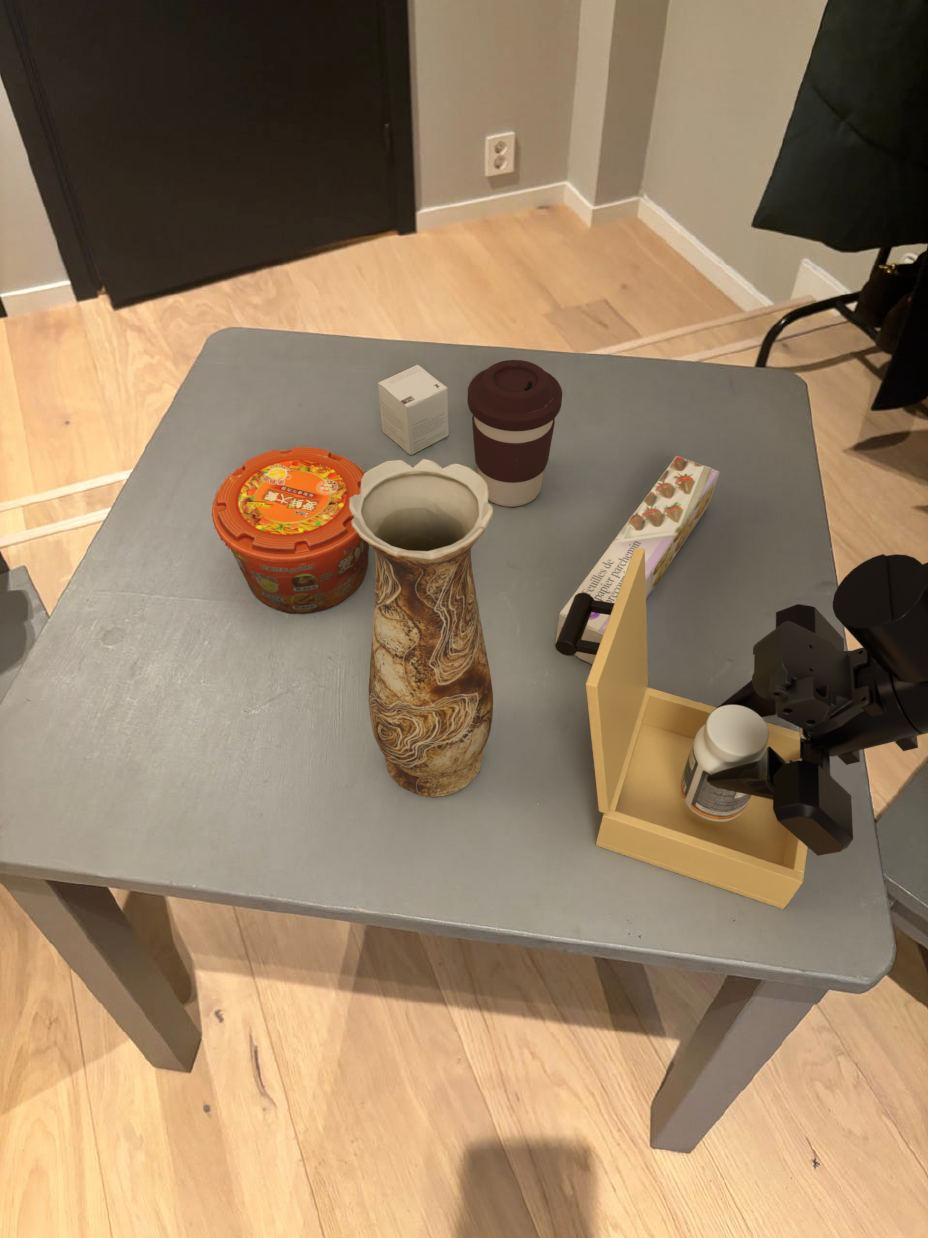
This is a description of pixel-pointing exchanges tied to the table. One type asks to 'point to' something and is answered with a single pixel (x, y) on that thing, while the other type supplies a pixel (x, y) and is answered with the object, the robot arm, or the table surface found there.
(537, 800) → the table surface
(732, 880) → the shallow kraft tray
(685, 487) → the box
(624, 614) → the upright wooden panel
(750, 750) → the pill bottle
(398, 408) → the product carton
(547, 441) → the coffee cup
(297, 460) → the food container
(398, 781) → the vase
